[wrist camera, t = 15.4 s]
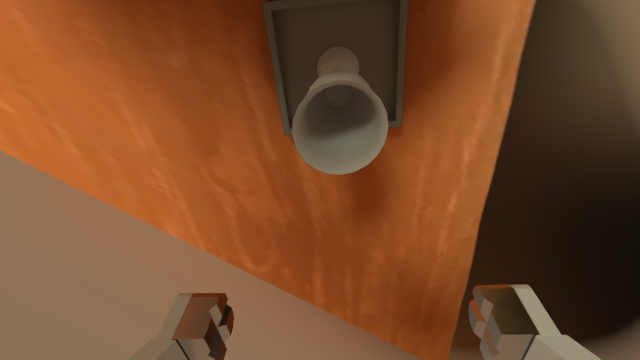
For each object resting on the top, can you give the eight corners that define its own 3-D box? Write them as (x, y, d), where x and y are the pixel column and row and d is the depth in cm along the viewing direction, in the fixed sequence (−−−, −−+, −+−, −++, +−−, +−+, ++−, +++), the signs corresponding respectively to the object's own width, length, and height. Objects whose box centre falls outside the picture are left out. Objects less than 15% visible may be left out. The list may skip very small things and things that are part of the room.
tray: (266, 1, 34) (261, 2, 32) (404, -14, 33) (409, -14, 31) (286, 127, 42) (284, 135, 40) (398, 119, 41) (402, 126, 39)
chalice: (317, 28, 35) (303, 67, 20) (375, 44, 36) (404, 94, 20) (303, 91, 39) (283, 163, 24) (356, 104, 39) (368, 183, 24)
